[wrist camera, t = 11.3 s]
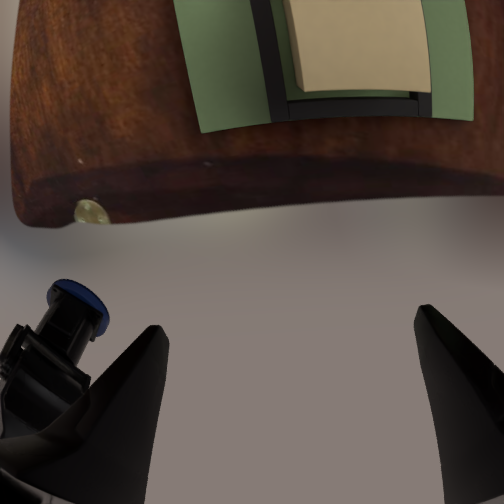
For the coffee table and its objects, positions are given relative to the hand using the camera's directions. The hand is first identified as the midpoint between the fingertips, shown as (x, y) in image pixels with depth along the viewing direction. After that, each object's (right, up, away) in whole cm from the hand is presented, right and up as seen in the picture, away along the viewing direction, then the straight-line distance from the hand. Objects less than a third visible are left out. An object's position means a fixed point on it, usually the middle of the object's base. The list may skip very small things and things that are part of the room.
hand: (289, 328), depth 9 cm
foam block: (+4, +14, +3) cm, 15 cm away
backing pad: (+4, +15, +4) cm, 16 cm away
